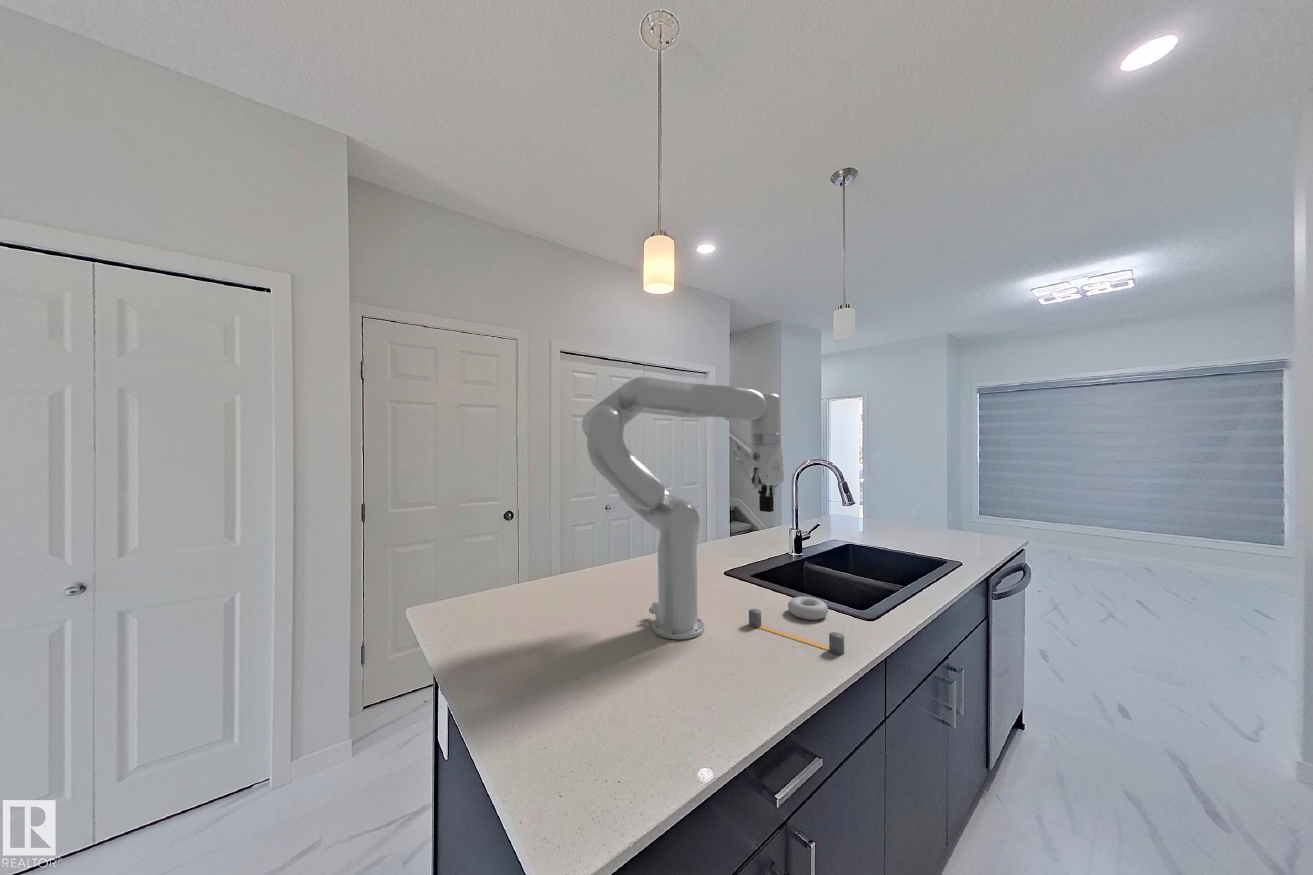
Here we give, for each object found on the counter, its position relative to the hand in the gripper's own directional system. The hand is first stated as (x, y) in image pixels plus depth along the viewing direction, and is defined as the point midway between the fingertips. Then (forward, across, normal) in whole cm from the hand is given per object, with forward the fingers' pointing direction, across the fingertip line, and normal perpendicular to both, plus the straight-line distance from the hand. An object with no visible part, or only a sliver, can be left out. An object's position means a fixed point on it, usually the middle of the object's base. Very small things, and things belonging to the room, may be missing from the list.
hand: (766, 511), depth 116 cm
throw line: (+27, -8, -11) cm, 30 cm away
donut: (+26, +2, -9) cm, 27 cm away
